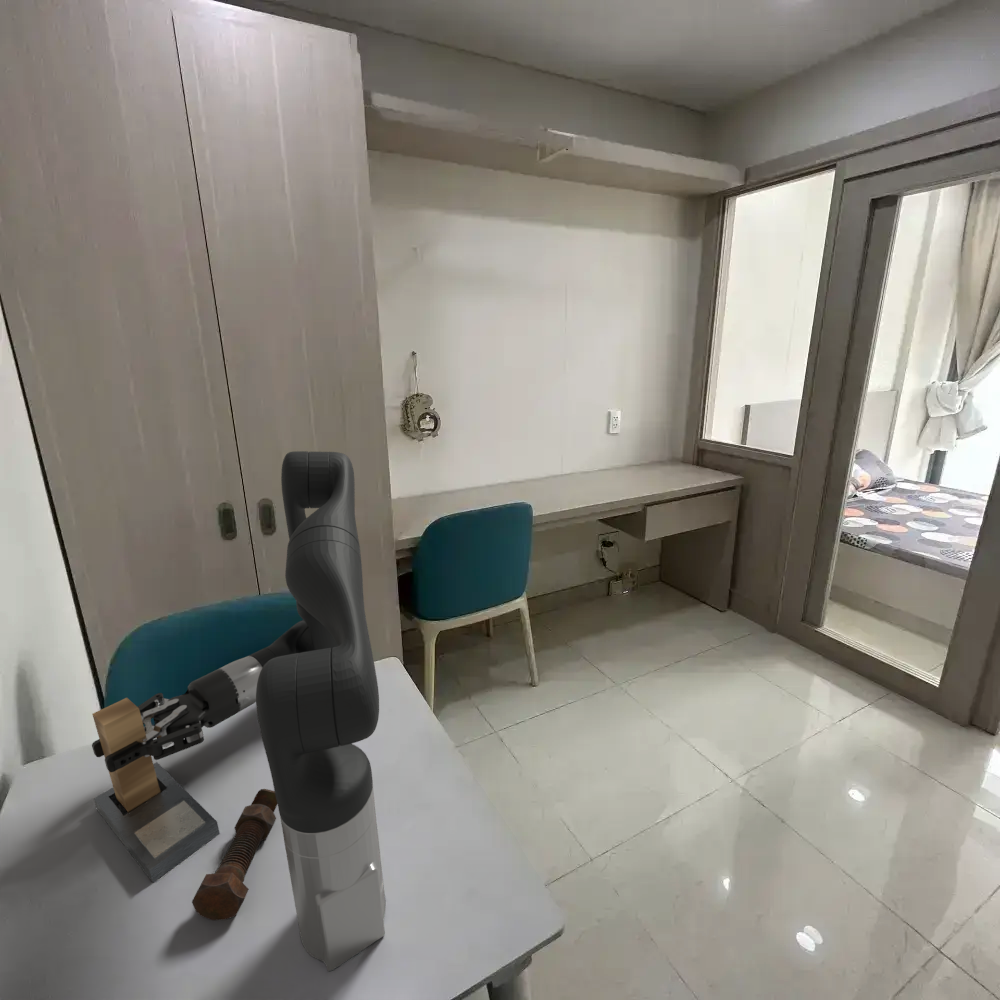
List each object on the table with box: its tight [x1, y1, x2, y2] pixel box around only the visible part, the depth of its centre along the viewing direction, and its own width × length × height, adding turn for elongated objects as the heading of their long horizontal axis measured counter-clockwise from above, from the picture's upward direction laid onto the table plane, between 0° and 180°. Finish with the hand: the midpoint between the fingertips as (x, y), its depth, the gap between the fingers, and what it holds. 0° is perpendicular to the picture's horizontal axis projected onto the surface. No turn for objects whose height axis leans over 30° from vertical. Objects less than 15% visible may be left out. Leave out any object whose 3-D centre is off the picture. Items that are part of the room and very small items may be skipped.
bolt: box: [191, 788, 278, 921], centre depth 64 cm, size 6×5×15 cm
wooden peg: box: [92, 697, 161, 813], centre depth 70 cm, size 4×4×14 cm
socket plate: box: [93, 761, 221, 883], centre depth 70 cm, size 18×8×2 cm, turn 55°
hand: (101, 757), depth 68 cm, fingers closed on wooden peg, 4 cm apart
